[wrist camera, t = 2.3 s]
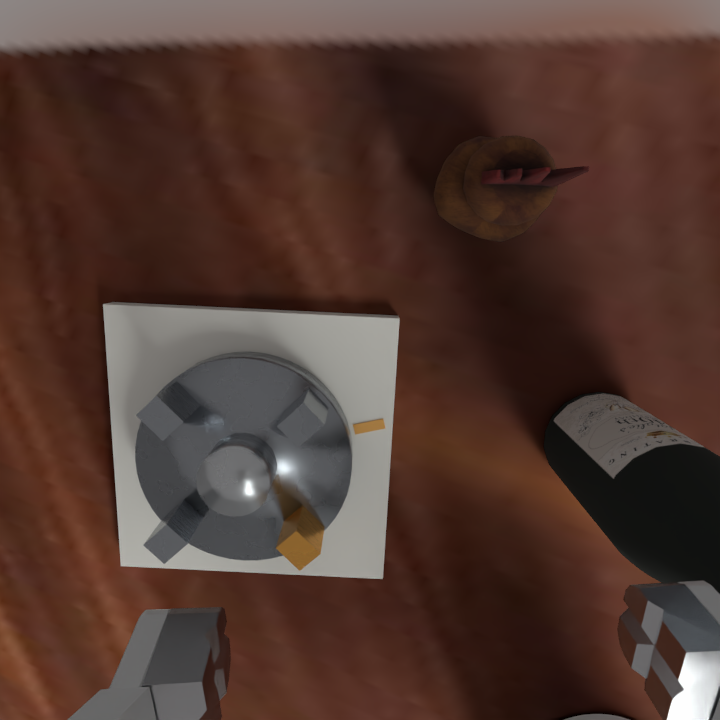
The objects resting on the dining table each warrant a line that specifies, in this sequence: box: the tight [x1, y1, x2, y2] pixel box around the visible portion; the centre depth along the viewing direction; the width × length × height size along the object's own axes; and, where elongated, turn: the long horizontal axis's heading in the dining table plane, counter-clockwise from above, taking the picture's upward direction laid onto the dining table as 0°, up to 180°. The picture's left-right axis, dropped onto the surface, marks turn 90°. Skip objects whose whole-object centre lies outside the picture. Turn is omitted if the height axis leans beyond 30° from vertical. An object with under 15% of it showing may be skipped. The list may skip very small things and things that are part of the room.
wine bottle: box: [544, 392, 720, 594], centre depth 27 cm, size 8×8×30 cm
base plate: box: [103, 302, 400, 579], centre depth 41 cm, size 22×22×2 cm
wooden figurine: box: [433, 136, 589, 242], centre depth 30 cm, size 7×6×15 cm
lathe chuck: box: [135, 352, 353, 571], centre depth 37 cm, size 16×16×6 cm
